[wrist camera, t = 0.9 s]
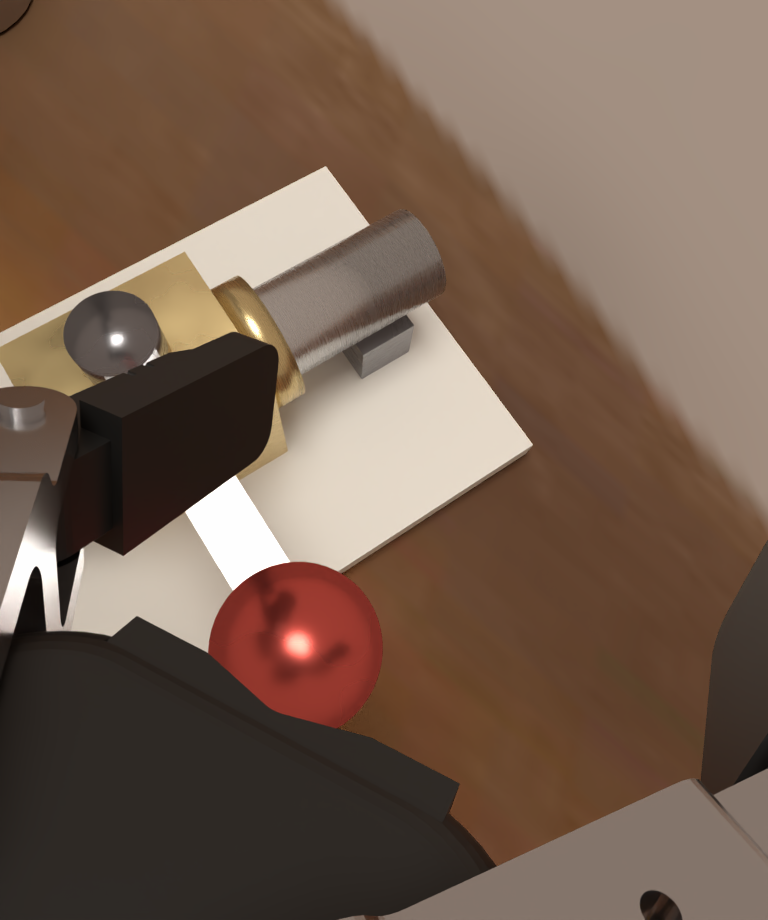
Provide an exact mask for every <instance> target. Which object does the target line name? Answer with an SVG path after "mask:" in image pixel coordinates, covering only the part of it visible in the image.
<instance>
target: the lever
mask: <svg viewBox="0 0 768 920" xmlns="http://www.w3.org/2000/svg"><path fill="white" fill-rule="evenodd" d="M63 339H64V344H65V347H66V350H67V352H68V354H69V355H70V356H71V358H72V359H73V360H74V361H75V363H76V364H77V365H78V366H79V368H80V369H81V370H82V371H83V372H84V374H85V375H86V376H87V377H88V378H89V380H90V381H91V382H92V383H94V384H95V385H96V384H98V383H101V382H103V381H105V380H107V379H110V378H112V377H114V376H117V375H119V374H121V373H126V374H127V373H128V370H130V369H133V368H135V367H137V366H140V365H146V363H147V362H149V361H151V360H153V359H156V358H158V357H160V356H163V355H165V354H167V353H168V345H167V341H166V338H165V336H164V334H163V332H162V330H161V328H160V326H159V324H158V322H157V320H156V318H155V316H154V314H153V312H152V310H151V309H150V307H149V306H148V305H147V304H146V303H145V302H144V301H143V300H142V299H140V298H139V297H137V296H135V295H133V294H131V293H127V292H124V291H104V292H99V293H96V294H93V295H91V296H89V297H87V298H85V299H84V300H82V301H81V302H80V303H79V304H78V305H76V306H75V307H74V309H73V310H72V311H71V313H70V314H69V316H68V318H67V320H66V322H65V326H64V331H63ZM185 512H186V513H187V515H188V517H189V518H190V520H191V522H192V523H193V525H194V527H195V528H196V530H197V532H198V533H199V535H200V536H201V538H202V540H203V541H204V543H205V545H206V546H207V548H208V550H209V551H210V553H211V555H212V556H213V558H214V560H215V561H216V563H217V565H218V566H219V568H220V570H221V571H222V573H223V575H224V576H225V578H226V580H227V581H228V583H229V584H230V586H231V588H232V589H233V591H232V592H231V594H230V595H229V596H228V597H227V598H226V600H225V601H224V603H223V605H222V606H221V608H220V609H219V612H218V614H217V616H216V618H215V620H214V623H213V626H212V629H211V634H210V639H209V647H208V653H209V654H210V655H211V656H212V657H213V658H214V659H215V660H216V661H218V662H219V663H220V664H221V665H222V666H223V667H224V668H225V669H226V670H227V671H229V672H230V673H231V674H232V675H233V676H234V677H235V678H236V679H237V680H239V681H240V682H241V683H242V684H243V685H244V686H245V687H246V688H247V689H249V690H250V691H251V692H252V693H253V694H254V695H255V696H256V697H257V698H259V699H260V700H261V701H262V702H263V703H264V704H265V705H266V706H268V707H269V708H270V709H272V710H274V711H276V712H279V713H282V714H285V715H289V716H292V717H296V718H300V719H303V720H307V721H311V722H315V723H318V724H322V725H326V726H329V727H333V728H338V727H340V726H342V725H343V724H344V723H346V722H347V721H348V720H349V719H351V718H352V717H353V716H354V715H355V714H356V713H357V712H358V711H359V710H360V709H361V707H362V706H363V705H364V703H365V702H366V701H367V699H368V698H369V696H370V694H371V692H372V690H373V689H374V686H375V684H376V681H377V679H378V675H379V672H380V668H381V662H382V654H383V642H382V634H381V629H380V625H379V621H378V618H377V616H376V613H375V611H374V609H373V607H372V605H371V603H370V601H369V600H368V598H367V597H366V596H365V594H364V593H363V592H362V590H361V589H360V588H359V587H358V586H357V585H356V584H355V583H354V582H352V581H351V580H350V579H349V578H347V577H346V576H344V575H343V574H341V573H339V572H338V571H336V570H334V569H331V568H329V567H327V566H323V565H320V564H316V563H310V562H289V560H288V559H287V557H286V556H285V554H284V552H283V551H282V549H281V548H280V546H279V544H278V543H277V541H276V540H275V538H274V536H273V535H272V533H271V532H270V530H269V529H268V527H267V525H266V524H265V522H264V521H263V519H262V517H261V516H260V514H259V513H258V511H257V509H256V508H255V506H254V505H253V503H252V502H251V500H250V498H249V497H248V495H247V494H246V492H245V490H244V489H243V487H242V486H241V484H240V482H239V481H238V479H237V478H236V476H234V477H232V478H231V479H230V480H228V481H227V482H225V483H224V484H223V485H221V486H220V487H219V488H217V489H216V490H214V491H213V492H212V493H210V494H209V495H207V496H206V497H205V498H203V499H202V500H201V501H199V502H198V503H196V504H195V505H194V506H192V507H191V508H189V509H188V510H187V511H185Z"/></svg>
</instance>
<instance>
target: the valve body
mask: <svg viewBox="0 0 768 920" xmlns="http://www.w3.org/2000/svg"><path fill="white" fill-rule="evenodd" d="M445 286H446V276H445V270H444V266H443V263H442V260H441V257H440V254H439V252H438V249H437V247H436V245H435V243H434V241H433V240H432V238H431V236H430V234H429V233H428V231H427V230H426V228H425V227H424V226H423V224H422V223H421V222H420V221H419V220H418V219H417V218H416V217H415V216H414V215H413V214H412V213H410V212H408V211H407V210H404V209H399V210H397V211H395V212H393V213H391V214H390V215H388V216H386V217H384V218H382V219H380V220H378V221H377V222H375V223H373V224H371V225H369V226H367V227H365V228H364V229H362V230H360V231H358V232H356V233H354V234H352V235H351V236H349V237H347V238H345V239H343V240H341V241H339V242H338V243H336V244H334V245H332V246H330V247H328V248H326V249H325V250H323V251H321V252H319V253H317V254H315V255H313V256H312V257H310V258H308V259H306V260H304V261H302V262H300V263H299V264H297V265H295V266H293V267H291V268H289V269H287V270H286V271H284V272H282V273H280V274H278V275H276V276H274V277H273V278H271V279H269V280H267V281H265V282H263V283H261V284H260V285H258V286H256V287H254V288H251V286H250V285H249V284H248V283H247V282H246V281H245V280H244V279H243V278H242V277H240V276H238V275H237V276H235V277H233V278H231V279H229V280H227V281H225V282H223V283H221V284H220V285H218V286H216V287H214V288H212V289H209V287H208V286H207V284H206V283H205V281H204V280H203V278H202V277H201V275H200V274H199V272H198V271H197V269H196V268H195V266H194V265H193V263H192V262H191V260H190V259H189V257H188V256H187V254H186V253H185V252H183V253H181V254H179V255H177V256H175V257H173V258H171V259H169V260H167V261H165V262H163V263H162V264H160V265H158V266H156V267H154V268H152V269H150V270H148V271H146V272H144V273H142V274H140V275H138V276H136V277H134V278H132V279H131V280H129V281H127V282H125V283H123V284H121V285H119V286H117V287H115V288H113V289H111V290H109V291H124V292H127V293H131V294H133V295H135V296H137V297H139V298H140V299H142V300H143V301H144V302H145V303H146V304H147V305H148V306H149V307H150V309H151V310H152V312H153V314H154V316H155V318H156V320H157V322H158V324H159V326H160V328H161V330H162V332H163V334H164V336H165V338H166V341H167V345H168V353H170V352H176V351H182V350H188V349H194V348H196V347H199V346H201V345H203V344H205V343H207V342H210V341H212V340H214V339H216V338H219V337H221V336H223V335H225V334H228V333H230V332H238V333H240V334H243V335H246V336H249V337H251V338H254V339H257V340H260V341H262V342H265V343H268V344H271V345H273V346H274V347H275V348H276V349H277V352H278V356H279V365H278V374H277V383H276V393H275V402H274V411H273V420H272V429H271V434H270V437H269V440H268V443H267V445H266V447H265V449H264V451H263V452H262V454H261V455H260V456H259V458H258V459H257V460H256V461H254V462H253V463H252V464H250V465H249V466H248V467H246V468H245V469H244V470H242V471H241V472H239V473H238V474H237V475H235V476H236V478H237V479H238V481H239V480H241V479H242V478H244V477H246V476H247V475H249V474H251V473H252V472H254V471H256V470H257V469H259V468H261V467H262V466H264V465H266V464H267V463H269V462H271V461H273V460H274V459H276V458H278V457H279V456H281V455H283V454H284V453H286V452H288V449H287V444H286V440H285V436H284V431H283V427H282V422H281V418H280V413H279V408H281V407H282V406H284V405H286V404H287V403H289V402H291V401H293V400H294V399H296V398H298V397H299V396H301V395H303V394H304V393H305V385H304V381H303V378H302V374H304V373H306V372H307V371H309V370H311V369H313V368H314V367H316V366H318V365H320V364H321V363H323V362H325V361H327V360H328V359H330V358H332V357H334V356H335V355H337V354H339V353H340V352H343V353H344V355H345V356H346V358H347V359H348V361H349V362H350V363H351V365H352V366H353V368H354V369H355V371H356V372H357V373H358V375H359V376H360V378H361V379H363V378H365V377H367V376H368V375H370V374H372V373H373V372H375V371H377V370H379V369H380V368H382V367H384V366H385V365H387V364H389V363H390V362H392V361H394V360H395V359H397V358H399V357H401V356H402V355H404V354H406V353H407V352H409V348H410V343H411V339H412V334H413V329H414V324H413V323H412V322H411V320H410V319H409V318H408V316H407V315H406V314H408V313H410V312H412V311H413V310H415V309H417V308H419V307H420V306H422V305H424V304H426V303H427V302H429V301H431V300H432V299H434V298H436V297H438V296H439V295H441V294H442V293H443V292H444V290H445ZM72 310H73V309H72ZM72 310H70V311H68V312H67V313H65V314H63V315H61V316H59V317H57V318H55V319H53V320H51V321H49V322H47V323H45V324H43V325H41V326H39V327H37V328H35V329H34V330H32V331H30V332H28V333H26V334H24V335H22V336H20V337H18V338H16V339H14V340H12V341H10V342H8V343H6V344H4V345H3V346H1V347H0V363H1V365H2V366H3V368H4V370H5V372H6V373H7V375H8V377H9V379H10V380H11V382H12V384H13V386H36V387H44V388H49V389H53V390H56V391H59V392H62V393H64V394H66V395H67V396H71V395H73V394H75V393H78V392H80V391H82V390H84V389H87V388H89V387H91V386H94V385H95V384H94V383H92V382H91V381H90V380H89V378H88V377H87V376H86V375H85V374H84V372H83V371H82V370H81V369H80V368H79V366H78V365H77V364H76V363H75V361H74V360H73V359H72V358H71V356H70V355H69V354H68V352H67V350H66V347H65V344H64V339H63V331H64V326H65V322H66V320H67V318H68V316H69V314H70V313H71V311H72ZM184 513H186V512H184ZM184 513H183V514H184ZM181 515H182V514H181ZM181 515H180V516H181ZM178 517H179V516H178Z"/></svg>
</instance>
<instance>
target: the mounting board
mask: <svg viewBox="0 0 768 920" xmlns="http://www.w3.org/2000/svg"><path fill="white" fill-rule="evenodd" d="M367 226H369V224H368V222H367V221H366V220H365V218H364V217H363V216H362V214H361V213H360V212H359V210H358V209H357V208H356V206H355V205H354V204H353V202H352V201H351V199H350V198H349V197H348V195H347V194H346V193H345V191H344V190H343V189H342V187H341V186H340V185H339V183H338V182H337V181H336V179H335V178H334V177H333V175H332V174H331V173H330V171H329V170H328V169H327V167H326V166H325V167H323V168H321V169H319V170H317V171H316V172H314V173H312V174H310V175H308V176H306V177H304V178H302V179H300V180H298V181H296V182H294V183H292V184H290V185H288V186H286V187H284V188H282V189H280V190H278V191H276V192H274V193H273V194H271V195H269V196H267V197H265V198H263V199H261V200H259V201H257V202H255V203H253V204H251V205H249V206H247V207H245V208H243V209H241V210H239V211H237V212H235V213H233V214H231V215H229V216H228V217H226V218H224V219H222V220H220V221H218V222H216V223H214V224H212V225H210V226H208V227H206V228H204V229H202V230H200V231H198V232H196V233H194V234H192V235H190V236H188V237H186V238H185V239H183V240H181V241H179V242H177V243H175V244H173V245H171V246H169V247H167V248H165V249H163V250H161V251H159V252H157V253H155V254H153V255H151V256H149V257H147V258H145V259H143V260H142V261H140V262H138V263H136V264H134V265H132V266H130V267H128V268H126V269H124V270H122V271H120V272H118V273H116V274H114V275H112V276H110V277H108V278H106V279H104V280H102V281H100V282H98V283H97V284H95V285H93V286H91V287H89V288H87V289H85V290H83V291H81V292H79V293H77V294H75V295H73V296H71V297H69V298H67V299H65V300H63V301H61V302H59V303H57V304H55V305H54V306H52V307H50V308H48V309H46V310H44V311H42V312H40V313H38V314H36V315H34V316H32V317H30V318H28V319H26V320H24V321H22V322H20V323H18V324H16V325H14V326H12V327H10V328H9V329H7V330H5V331H3V332H1V333H0V347H1V346H3V345H4V344H6V343H8V342H10V341H12V340H14V339H16V338H18V337H20V336H22V335H24V334H26V333H28V332H30V331H32V330H34V329H35V328H37V327H39V326H41V325H43V324H45V323H47V322H49V321H51V320H53V319H55V318H57V317H59V316H61V315H63V314H65V313H67V312H68V311H70V310H72V309H74V307H75V306H76V305H78V304H79V303H80V302H81V301H82V300H84V299H85V298H87V297H89V296H91V295H93V294H96V293H99V292H104V291H109V290H111V289H113V288H115V287H117V286H119V285H121V284H123V283H125V282H127V281H129V280H131V279H132V278H134V277H136V276H138V275H140V274H142V273H144V272H146V271H148V270H150V269H152V268H154V267H156V266H158V265H160V264H162V263H163V262H165V261H167V260H169V259H171V258H173V257H175V256H177V255H179V254H181V253H183V252H185V253H186V254H187V256H188V257H189V259H190V260H191V262H192V263H193V265H194V266H195V268H196V269H197V271H198V272H199V274H200V275H201V277H202V278H203V280H204V281H205V283H206V284H207V286H208V287H209V289H212V288H214V287H216V286H218V285H220V284H221V283H223V282H225V281H227V280H229V279H231V278H233V277H235V276H237V275H238V276H240V277H242V278H243V279H244V280H245V281H246V282H247V283H248V284H249V285H250V286H251V288H254V287H256V286H258V285H260V284H261V283H263V282H265V281H267V280H269V279H271V278H273V277H274V276H276V275H278V274H280V273H282V272H284V271H286V270H287V269H289V268H291V267H293V266H295V265H297V264H299V263H300V262H302V261H304V260H306V259H308V258H310V257H312V256H313V255H315V254H317V253H319V252H321V251H323V250H325V249H326V248H328V247H330V246H332V245H334V244H336V243H338V242H339V241H341V240H343V239H345V238H347V237H349V236H351V235H352V234H354V233H356V232H358V231H360V230H362V229H364V228H365V227H367ZM406 315H407V316H408V318H409V319H410V320H411V322H412V323H413V324H414V329H413V334H412V339H411V343H410V348H409V352H407V353H406V354H404V355H402V356H401V357H399V358H397V359H395V360H394V361H392V362H390V363H389V364H387V365H385V366H384V367H382V368H380V369H379V370H377V371H375V372H373V373H372V374H370V375H368V376H367V377H365V378H363V379H361V378H360V376H359V375H358V373H357V372H356V371H355V369H354V368H353V366H352V365H351V363H350V362H349V361H348V359H347V358H346V356H345V355H344V353H343V352H340V353H339V354H337V355H335V356H334V357H332V358H330V359H328V360H327V361H325V362H323V363H321V364H320V365H318V366H316V367H314V368H313V369H311V370H309V371H307V372H306V373H304V374H302V378H303V381H304V385H305V393H304V394H303V395H301V396H299V397H298V398H296V399H294V400H293V401H291V402H289V403H287V404H286V405H284V406H282V407H281V408H279V413H280V418H281V422H282V427H283V431H284V436H285V440H286V444H287V449H288V452H286V453H284V454H283V455H281V456H279V457H278V458H276V459H274V460H273V461H271V462H269V463H267V464H266V465H264V466H262V467H261V468H259V469H257V470H256V471H254V472H252V473H251V474H249V475H247V476H246V477H244V478H242V479H241V480H239V482H240V484H241V486H242V487H243V489H244V490H245V492H246V494H247V495H248V497H249V498H250V500H251V502H252V503H253V505H254V506H255V508H256V509H257V511H258V513H259V514H260V516H261V517H262V519H263V521H264V522H265V524H266V525H267V527H268V529H269V530H270V532H271V533H272V535H273V536H274V538H275V540H276V541H277V543H278V544H279V546H280V548H281V549H282V551H283V552H284V554H285V556H286V557H287V559H288V560H289V562H310V563H316V564H320V565H323V566H327V567H329V568H331V569H334V570H336V571H338V572H339V573H341V574H342V573H343V572H345V571H346V570H348V569H349V568H351V567H352V566H354V565H355V564H357V563H358V562H360V561H362V560H363V559H365V558H366V557H368V556H369V555H371V554H372V553H374V552H375V551H377V550H378V549H380V548H382V547H383V546H385V545H386V544H388V543H389V542H391V541H392V540H394V539H395V538H397V537H398V536H400V535H402V534H403V533H405V532H406V531H408V530H409V529H411V528H412V527H414V526H415V525H417V524H418V523H420V522H422V521H423V520H425V519H426V518H428V517H429V516H431V515H432V514H434V513H435V512H437V511H438V510H440V509H442V508H443V507H445V506H446V505H448V504H449V503H451V502H452V501H454V500H455V499H457V498H458V497H460V496H462V495H463V494H465V493H466V492H468V491H469V490H471V489H472V488H474V487H475V486H477V485H478V484H480V483H482V482H483V481H485V480H486V479H488V478H489V477H491V476H492V475H494V474H495V473H497V472H498V471H500V470H501V469H503V468H505V467H506V466H508V465H509V464H511V463H512V462H514V461H515V460H517V459H518V458H520V457H521V456H523V455H525V454H526V453H527V452H528V450H529V449H530V448H531V447H532V446H533V444H532V443H531V442H530V440H529V439H528V437H527V436H526V435H525V433H524V432H523V431H522V429H521V428H520V427H519V425H518V424H517V423H516V421H515V420H514V419H513V417H512V416H511V415H510V413H509V412H508V411H507V409H506V408H505V407H504V405H503V404H502V403H501V401H500V400H499V398H498V397H497V396H496V394H495V393H494V392H493V390H492V389H491V388H490V386H489V385H488V384H487V382H486V381H485V380H484V378H483V377H482V376H481V374H480V373H479V372H478V370H477V369H476V368H475V366H474V365H473V364H472V362H471V361H470V360H469V358H468V357H467V355H466V354H465V353H464V351H463V350H462V349H461V347H460V346H459V345H458V343H457V342H456V341H455V339H454V338H453V337H452V335H451V334H450V333H449V331H448V330H447V329H446V327H445V326H444V325H443V323H442V322H441V321H440V319H439V318H438V316H437V315H436V314H435V312H434V311H433V310H432V308H431V307H430V306H429V304H428V303H426V304H424V305H422V306H420V307H419V308H417V309H415V310H413V311H412V312H410V313H408V314H406ZM12 386H13V384H12V382H11V380H10V379H9V377H8V375H7V373H6V372H5V370H4V368H3V366H2V365H1V363H0V388H4V387H12ZM232 591H233V589H232V588H231V586H230V584H229V583H228V581H227V580H226V578H225V576H224V575H223V573H222V571H221V570H220V568H219V566H218V565H217V563H216V561H215V560H214V558H213V556H212V555H211V553H210V551H209V550H208V548H207V546H206V545H205V543H204V541H203V540H202V538H201V536H200V535H199V533H198V532H197V530H196V528H195V527H194V525H193V523H192V522H191V520H190V518H189V517H188V515H187V513H184V514H182V515H181V516H179V517H177V518H176V519H174V520H173V521H171V522H170V523H169V524H167V525H166V526H164V527H163V528H162V529H160V530H159V531H158V532H156V533H155V534H153V535H152V536H151V537H149V538H148V539H146V540H145V541H144V542H142V543H141V544H140V545H138V546H137V547H135V548H134V549H133V550H131V551H130V552H128V553H127V554H126V555H124V556H122V555H120V554H118V553H116V552H114V551H112V550H110V549H108V548H106V547H104V546H102V545H100V544H98V543H96V542H94V541H93V542H91V543H90V544H88V545H87V546H85V547H84V568H83V573H82V578H81V583H80V588H79V593H78V598H77V603H76V608H75V613H74V618H73V623H72V628H71V631H82V632H90V633H97V634H104V635H108V636H113V635H114V634H116V633H117V632H118V631H119V630H120V629H122V628H123V627H124V626H125V625H126V624H128V623H129V622H130V621H131V620H132V619H134V618H135V617H136V616H138V617H140V618H142V619H144V620H146V621H148V622H150V623H152V624H154V625H155V626H157V627H159V628H161V629H163V630H165V631H167V632H169V633H171V634H173V635H175V636H177V637H179V638H180V639H182V640H184V641H186V642H188V643H190V644H192V645H194V646H196V647H198V648H200V649H202V650H204V651H205V652H207V653H208V647H209V639H210V634H211V629H212V626H213V623H214V620H215V618H216V616H217V614H218V612H219V609H220V608H221V606H222V605H223V603H224V601H225V600H226V598H227V597H228V596H229V595H230V594H231V592H232Z"/></svg>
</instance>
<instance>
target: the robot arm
mask: <svg viewBox="0 0 768 920" xmlns="http://www.w3.org/2000/svg"><path fill="white" fill-rule="evenodd" d="M30 1H31V0H0V32H2V31H4V30H6V29H7V28H8V27H10V26H11V25H12V24H13V23H15V22H16V21H17V20H18V19H19V18H20V17H21V15H22V14H23V13H24V12H25V11H26V9H27V7H28V5H29V3H30ZM278 365H279V356H278V352H277V349H276V348H275V347H274V346H273V345H271V344H268V343H265V342H262V341H260V340H257V339H254V338H251V337H249V336H246V335H243V334H240V333H238V332H230V333H228V334H225V335H223V336H221V337H219V338H216V339H214V340H212V341H210V342H207V343H205V344H203V345H201V346H199V347H196V348H194V349H188V350H182V351H176V352H170V353H167V354H165V355H163V356H160V357H158V358H156V359H153V360H151V361H149V362H147V363H146V365H140V366H137V367H135V368H133V369H130V370H128V373H127V374H126V373H121V374H119V375H117V376H114V377H112V378H110V379H107V380H105V381H103V382H101V383H98V384H96V385H94V386H91V387H89V388H87V389H84V390H82V391H80V392H78V393H75V394H73V395H71V396H67V395H66V394H64V393H62V392H59V391H56V390H53V389H49V388H44V387H36V386H12V387H4V388H0V920H768V541H767V542H766V544H765V545H764V547H763V549H762V551H761V553H760V554H759V556H758V558H757V560H756V562H755V563H754V565H753V567H752V569H751V571H750V572H749V574H748V576H747V578H746V580H745V581H744V583H743V585H742V587H741V589H740V590H739V592H738V594H737V596H736V598H735V599H734V601H733V603H732V605H731V607H730V608H729V610H728V612H727V614H726V616H725V618H724V620H723V622H722V625H721V627H720V630H719V632H718V635H717V638H716V641H715V645H714V649H713V654H712V664H711V675H710V686H709V696H708V707H707V718H706V729H705V740H704V751H703V761H702V772H701V781H700V780H698V779H688V780H684V781H681V782H679V783H676V784H674V785H672V786H670V787H667V788H665V789H663V790H661V791H659V792H657V793H655V794H652V795H650V796H648V797H646V798H644V799H642V800H639V801H637V802H635V803H633V804H631V805H629V806H626V807H624V808H622V809H620V810H618V811H616V812H613V813H611V814H609V815H607V816H605V817H603V818H600V819H598V820H596V821H594V822H592V823H590V824H588V825H585V826H583V827H581V828H579V829H577V830H575V831H572V832H570V833H568V834H566V835H564V836H562V837H559V838H557V839H555V840H553V841H551V842H549V843H546V844H544V845H542V846H540V847H538V848H536V849H534V850H531V851H529V852H527V853H525V854H523V855H521V856H518V857H516V858H514V859H512V860H510V861H508V862H505V863H503V864H501V865H499V866H496V865H495V864H494V862H493V861H492V859H491V858H490V857H489V855H488V854H487V853H486V851H485V850H484V849H483V847H482V846H481V845H480V844H479V843H478V842H477V841H476V840H475V839H474V837H473V836H472V835H471V834H470V833H469V832H468V831H467V830H466V829H465V828H464V827H463V826H462V825H461V824H460V823H459V822H458V821H456V820H455V819H454V818H453V817H452V816H451V815H450V814H449V812H450V809H451V807H452V804H453V801H454V798H455V796H456V793H457V790H458V787H459V785H460V784H459V783H457V782H455V781H453V780H452V779H450V778H448V777H446V776H444V775H442V774H440V773H438V772H436V771H434V770H432V769H430V768H428V767H427V766H425V765H423V764H421V763H419V762H417V761H415V760H413V759H411V758H409V757H407V756H405V755H403V754H402V753H400V752H398V751H396V750H394V749H392V748H390V747H388V746H386V745H384V744H382V743H380V742H378V741H377V740H375V739H373V738H370V737H367V736H363V735H359V734H355V733H352V732H348V731H344V730H341V729H337V728H333V727H329V726H326V725H322V724H318V723H315V722H311V721H307V720H303V719H300V718H296V717H292V716H289V715H285V714H282V713H279V712H276V711H274V710H272V709H270V708H269V707H268V706H266V705H265V704H264V703H263V702H262V701H261V700H260V699H259V698H257V697H256V696H255V695H254V694H253V693H252V692H251V691H250V690H249V689H247V688H246V687H245V686H244V685H243V684H242V683H241V682H240V681H239V680H237V679H236V678H235V677H234V676H233V675H232V674H231V673H230V672H229V671H227V670H226V669H225V668H224V667H223V666H222V665H221V664H220V663H219V662H218V661H216V660H215V659H214V658H213V657H212V656H211V655H210V654H209V653H207V652H205V651H204V650H202V649H200V648H198V647H196V646H194V645H192V644H190V643H188V642H186V641H184V640H182V639H180V638H179V637H177V636H175V635H173V634H171V633H169V632H167V631H165V630H163V629H161V628H159V627H157V626H155V625H154V624H152V623H150V622H148V621H146V620H144V619H142V618H140V617H138V616H136V617H135V618H134V619H132V620H131V621H130V622H129V623H128V624H126V625H125V626H124V627H123V628H122V629H120V630H119V631H118V632H117V633H116V634H114V635H113V636H108V635H104V634H97V633H90V632H82V631H71V628H72V623H73V618H74V613H75V608H76V603H77V598H78V593H79V588H80V583H81V578H82V573H83V568H84V547H85V546H87V545H88V544H90V543H91V542H93V541H94V542H96V543H98V544H100V545H102V546H104V547H106V548H108V549H110V550H112V551H114V552H116V553H118V554H120V555H122V556H124V555H126V554H127V553H128V552H130V551H131V550H133V549H134V548H135V547H137V546H138V545H140V544H141V543H142V542H144V541H145V540H146V539H148V538H149V537H151V536H152V535H153V534H155V533H156V532H158V531H159V530H160V529H162V528H163V527H164V526H166V525H167V524H169V523H170V522H171V521H173V520H174V519H176V518H177V517H178V516H180V515H181V514H183V513H184V512H185V511H187V510H188V509H189V508H191V507H192V506H194V505H195V504H196V503H198V502H199V501H201V500H202V499H203V498H205V497H206V496H207V495H209V494H210V493H212V492H213V491H214V490H216V489H217V488H219V487H220V486H221V485H223V484H224V483H225V482H227V481H228V480H230V479H231V478H232V477H234V476H235V475H237V474H238V473H239V472H241V471H242V470H244V469H245V468H246V467H248V466H249V465H250V464H252V463H253V462H254V461H256V460H257V459H258V458H259V456H260V455H261V454H262V452H263V451H264V449H265V447H266V445H267V443H268V440H269V437H270V434H271V429H272V420H273V411H274V402H275V393H276V383H277V374H278Z"/></svg>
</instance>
